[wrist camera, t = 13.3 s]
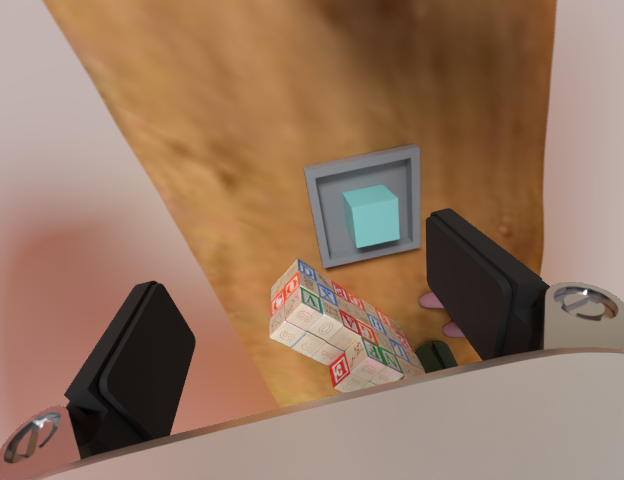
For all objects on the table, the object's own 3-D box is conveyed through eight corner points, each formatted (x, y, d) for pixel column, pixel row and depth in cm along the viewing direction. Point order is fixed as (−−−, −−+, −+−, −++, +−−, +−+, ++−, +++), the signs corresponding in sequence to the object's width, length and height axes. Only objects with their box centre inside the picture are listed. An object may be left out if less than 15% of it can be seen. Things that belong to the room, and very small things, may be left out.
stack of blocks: (269, 287, 41) (267, 359, 31) (296, 256, 40) (305, 321, 29) (373, 347, 49) (401, 420, 38) (400, 323, 48) (437, 393, 37)
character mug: (459, 328, 49) (515, 401, 38) (461, 355, 53) (513, 430, 41) (396, 347, 50) (433, 424, 38) (402, 373, 53) (438, 452, 42)
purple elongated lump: (456, 312, 50) (498, 329, 44) (442, 334, 49) (482, 355, 43) (430, 277, 46) (472, 290, 40) (414, 300, 45) (454, 317, 39)
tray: (302, 166, 34) (304, 171, 32) (412, 143, 34) (420, 146, 32) (321, 260, 40) (323, 268, 38) (414, 240, 40) (420, 247, 38)
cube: (342, 192, 35) (351, 208, 31) (382, 184, 36) (397, 198, 31) (347, 229, 38) (356, 248, 33) (385, 221, 38) (399, 238, 34)
